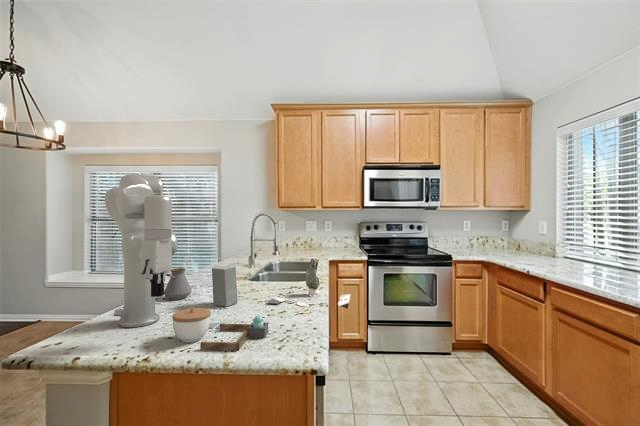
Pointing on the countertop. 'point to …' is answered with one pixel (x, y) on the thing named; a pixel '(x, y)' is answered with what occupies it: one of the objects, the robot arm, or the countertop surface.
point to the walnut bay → (228, 345)
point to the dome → (258, 321)
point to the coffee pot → (177, 285)
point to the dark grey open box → (257, 331)
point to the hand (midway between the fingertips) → (157, 295)
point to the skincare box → (224, 286)
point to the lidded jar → (191, 324)
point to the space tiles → (214, 325)
